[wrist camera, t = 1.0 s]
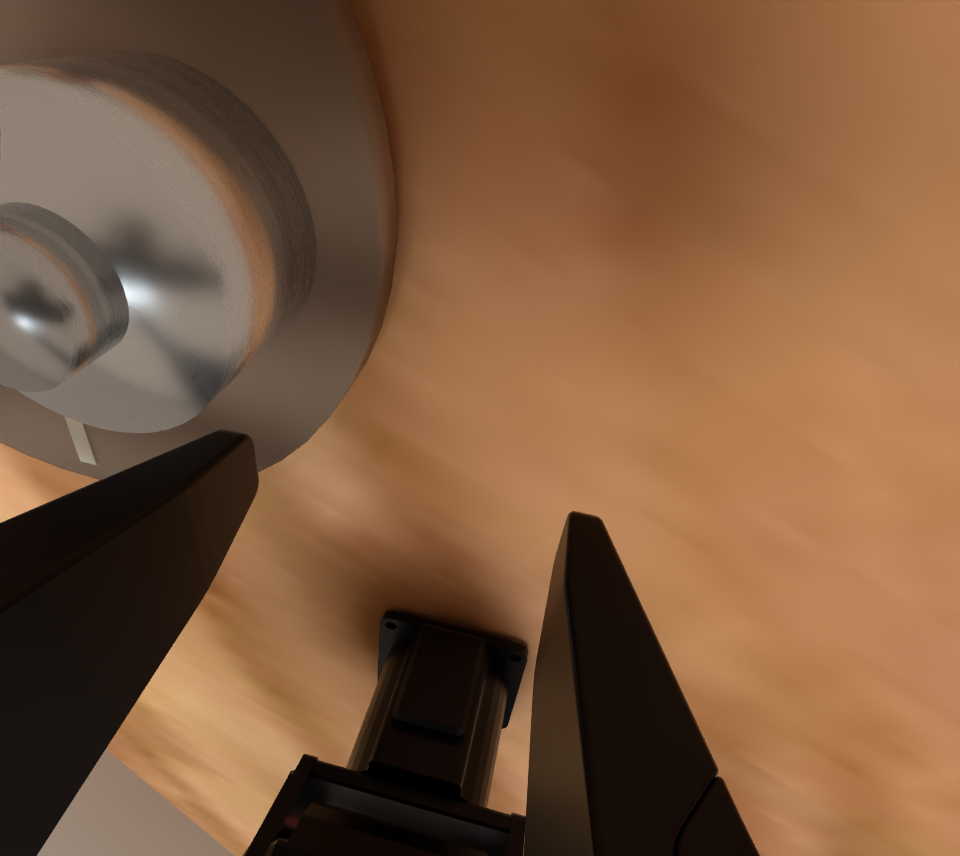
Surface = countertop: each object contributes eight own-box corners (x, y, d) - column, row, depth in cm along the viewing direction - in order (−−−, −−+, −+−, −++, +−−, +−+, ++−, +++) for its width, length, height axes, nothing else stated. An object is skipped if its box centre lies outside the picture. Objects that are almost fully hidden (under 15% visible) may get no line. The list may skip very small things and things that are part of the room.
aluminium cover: (321, 372, 17) (208, 510, 12) (86, 319, 17) (-101, 433, 13) (309, 79, 12) (130, 130, 8) (-2, 25, 13) (-325, 44, 9)
